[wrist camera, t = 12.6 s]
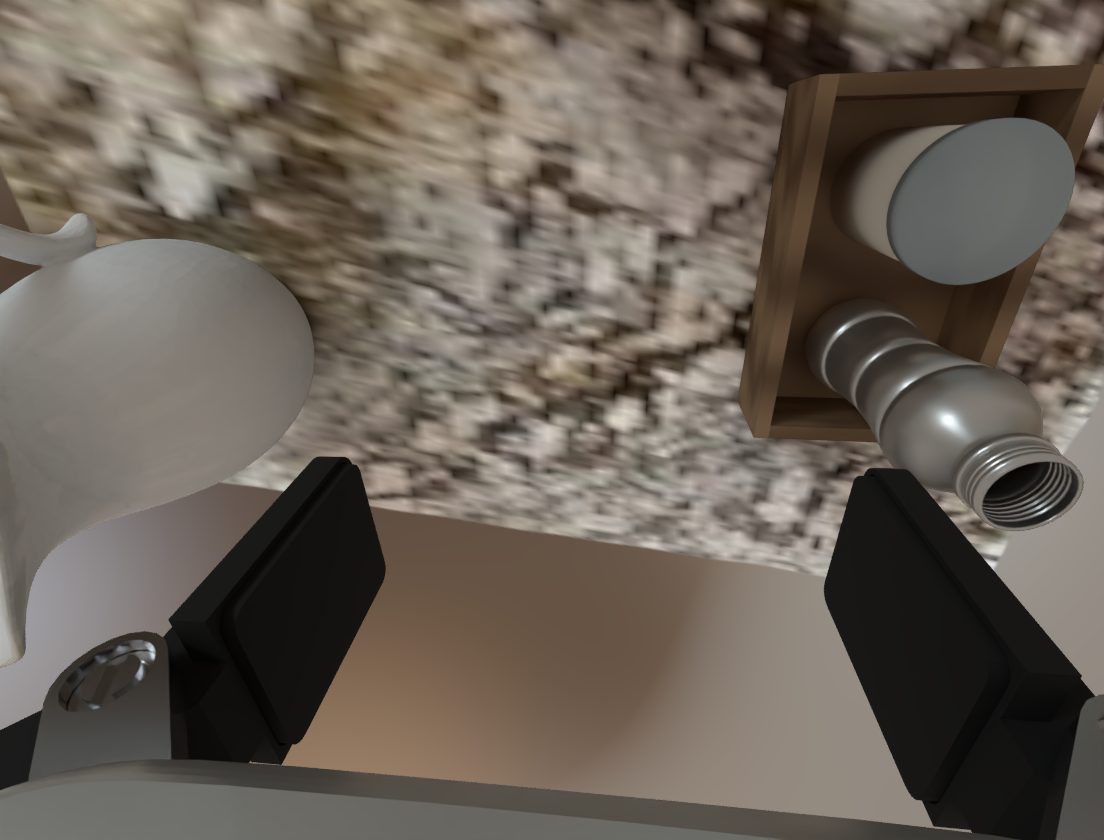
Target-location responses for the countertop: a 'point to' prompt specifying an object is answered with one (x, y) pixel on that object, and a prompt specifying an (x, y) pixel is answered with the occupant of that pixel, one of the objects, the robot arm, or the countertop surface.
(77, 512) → the pitcher
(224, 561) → the robot arm
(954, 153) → the jar
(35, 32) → the countertop surface
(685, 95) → the countertop surface
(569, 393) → the countertop surface
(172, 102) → the countertop surface
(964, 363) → the grey metal bottle
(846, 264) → the crate
